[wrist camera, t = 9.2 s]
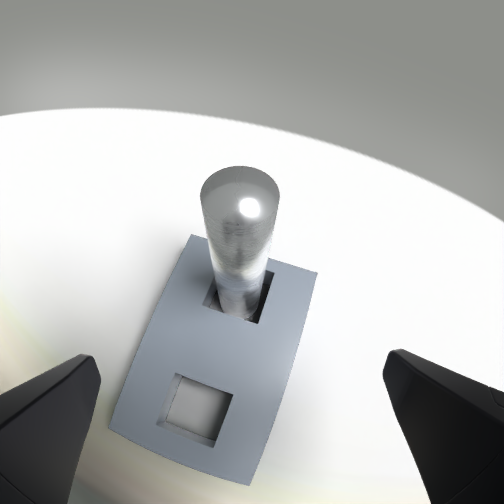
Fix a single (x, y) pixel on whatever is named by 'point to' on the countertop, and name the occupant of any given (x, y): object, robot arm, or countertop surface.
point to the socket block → (214, 365)
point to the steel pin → (239, 233)
